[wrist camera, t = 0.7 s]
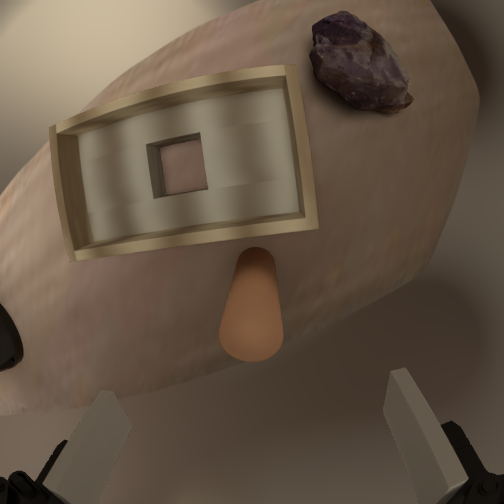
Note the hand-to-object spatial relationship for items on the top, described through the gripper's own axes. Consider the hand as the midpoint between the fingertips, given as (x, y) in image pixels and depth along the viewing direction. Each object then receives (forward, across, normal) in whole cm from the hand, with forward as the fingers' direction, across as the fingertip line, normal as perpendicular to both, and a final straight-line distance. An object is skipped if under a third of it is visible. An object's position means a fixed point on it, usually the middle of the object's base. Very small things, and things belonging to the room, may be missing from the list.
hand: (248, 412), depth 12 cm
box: (+22, -6, +12) cm, 26 cm away
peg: (+22, 0, 0) cm, 22 cm away
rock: (+22, +13, +20) cm, 33 cm away
